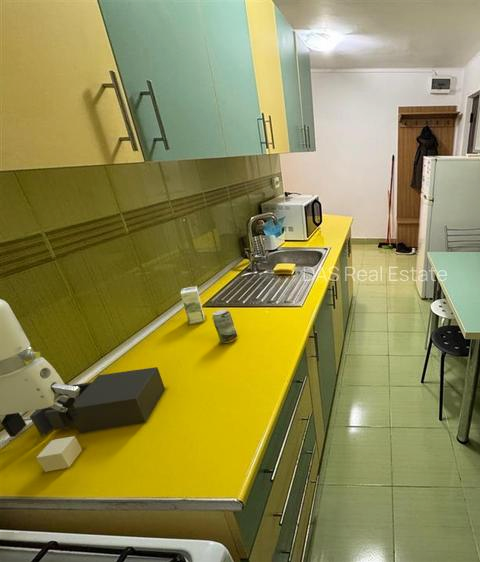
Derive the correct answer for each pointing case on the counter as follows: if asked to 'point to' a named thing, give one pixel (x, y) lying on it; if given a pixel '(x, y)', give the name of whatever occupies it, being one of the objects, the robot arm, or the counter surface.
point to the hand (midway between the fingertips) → (46, 426)
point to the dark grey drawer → (51, 416)
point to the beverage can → (224, 325)
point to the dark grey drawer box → (118, 400)
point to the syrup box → (192, 305)
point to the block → (59, 454)
